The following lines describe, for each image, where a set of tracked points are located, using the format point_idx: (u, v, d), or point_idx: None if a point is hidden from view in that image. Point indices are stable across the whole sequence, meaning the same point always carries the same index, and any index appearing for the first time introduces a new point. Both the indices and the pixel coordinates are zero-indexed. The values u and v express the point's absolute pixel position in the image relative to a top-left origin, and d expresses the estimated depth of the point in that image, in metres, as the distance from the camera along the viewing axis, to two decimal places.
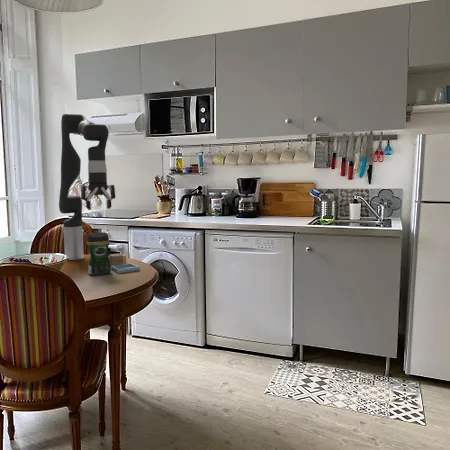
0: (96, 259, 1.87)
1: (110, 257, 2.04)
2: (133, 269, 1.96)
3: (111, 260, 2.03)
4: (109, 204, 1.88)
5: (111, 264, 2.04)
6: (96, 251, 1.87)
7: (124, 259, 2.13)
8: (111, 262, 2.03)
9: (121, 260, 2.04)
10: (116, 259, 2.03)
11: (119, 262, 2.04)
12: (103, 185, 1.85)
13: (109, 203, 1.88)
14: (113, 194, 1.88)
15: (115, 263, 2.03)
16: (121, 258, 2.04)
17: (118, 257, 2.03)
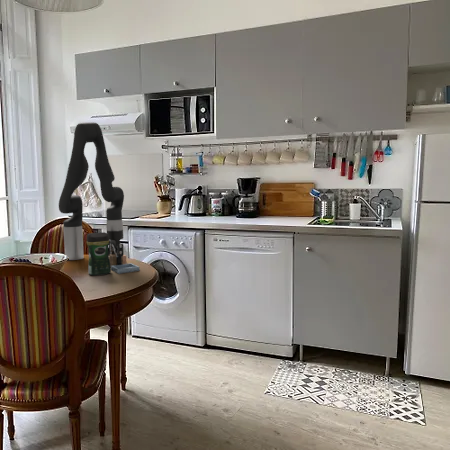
0: (96, 260, 1.87)
1: (110, 257, 2.04)
2: (133, 269, 1.96)
3: (111, 260, 2.03)
4: None
5: (111, 264, 2.04)
6: (96, 251, 1.87)
7: (124, 259, 2.13)
8: (111, 262, 2.03)
9: None
10: None
11: None
12: None
13: None
14: None
15: (115, 263, 2.03)
16: (121, 258, 2.04)
17: None
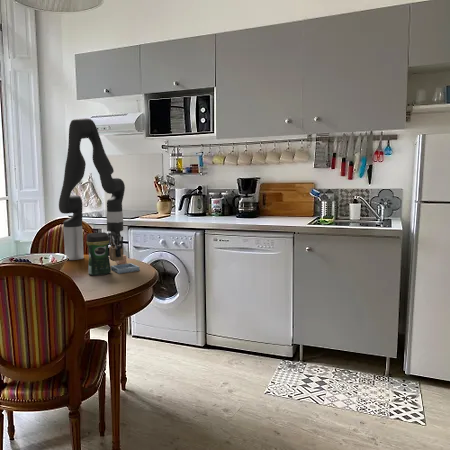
0: (96, 259, 1.87)
1: (110, 249, 2.04)
2: (133, 269, 1.96)
3: (111, 252, 2.03)
4: None
5: (111, 256, 2.04)
6: (96, 251, 1.87)
7: (124, 259, 2.13)
8: (112, 254, 2.03)
9: (121, 253, 2.04)
10: None
11: None
12: None
13: None
14: None
15: (115, 255, 2.03)
16: (121, 251, 2.04)
17: None
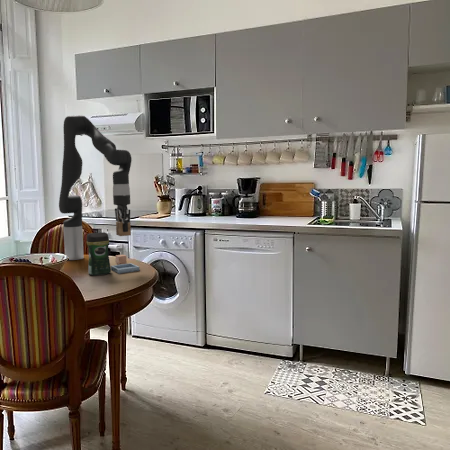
0: (96, 259, 1.87)
1: (117, 224, 1.95)
2: (133, 269, 1.96)
3: (118, 227, 1.94)
4: None
5: (118, 231, 1.95)
6: (96, 251, 1.87)
7: (124, 259, 2.13)
8: (119, 229, 1.94)
9: (129, 227, 1.95)
10: None
11: None
12: None
13: None
14: None
15: (122, 230, 1.94)
16: (129, 225, 1.95)
17: None
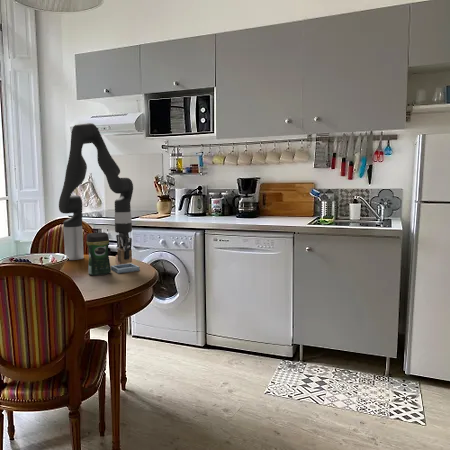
0: (96, 259, 1.87)
1: (119, 251, 1.97)
2: (133, 269, 1.96)
3: (120, 254, 1.96)
4: None
5: (119, 259, 1.96)
6: (96, 251, 1.87)
7: None
8: (120, 256, 1.95)
9: (130, 255, 1.97)
10: None
11: None
12: None
13: None
14: None
15: None
16: (130, 253, 1.97)
17: None
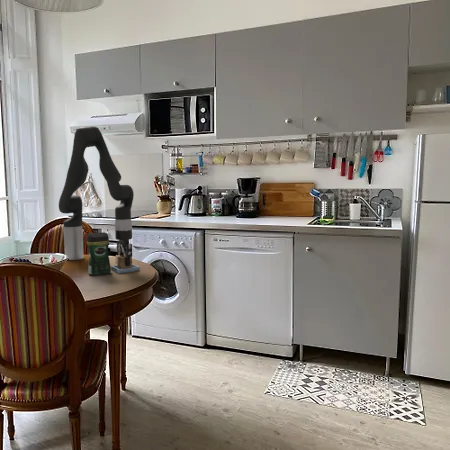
0: (96, 260, 1.87)
1: (119, 259, 1.97)
2: (133, 269, 1.96)
3: (120, 262, 1.96)
4: None
5: (120, 266, 1.97)
6: (96, 251, 1.87)
7: None
8: (120, 263, 1.96)
9: (130, 262, 1.97)
10: None
11: None
12: None
13: None
14: None
15: (124, 265, 1.96)
16: (130, 260, 1.97)
17: None
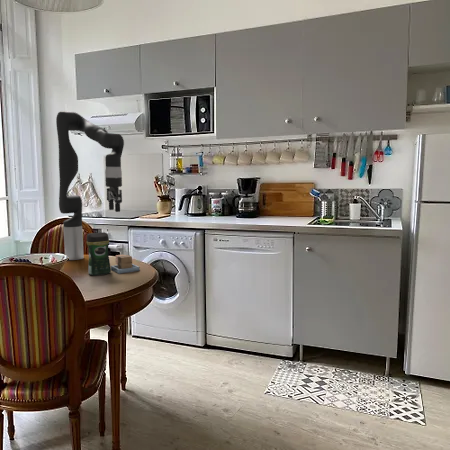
0: (96, 259, 1.87)
1: (119, 259, 1.97)
2: (133, 269, 1.96)
3: (120, 262, 1.96)
4: (113, 205, 2.09)
5: (120, 266, 1.97)
6: (96, 251, 1.87)
7: None
8: (120, 263, 1.96)
9: (130, 262, 1.97)
10: (125, 261, 1.96)
11: (128, 263, 1.97)
12: None
13: (113, 204, 2.09)
14: None
15: (124, 265, 1.96)
16: (130, 260, 1.97)
17: (127, 259, 1.96)
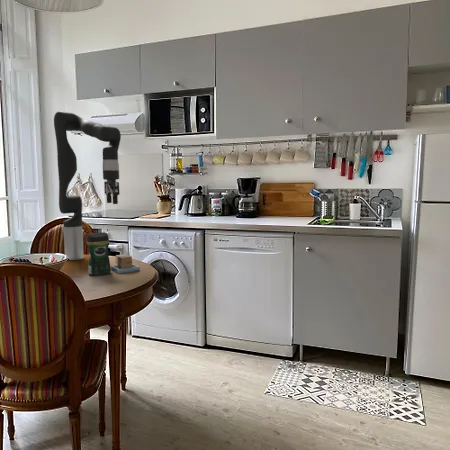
0: (96, 259, 1.87)
1: (119, 259, 1.97)
2: (133, 269, 1.96)
3: (120, 262, 1.96)
4: None
5: (120, 266, 1.97)
6: (96, 251, 1.87)
7: None
8: (120, 263, 1.96)
9: (130, 262, 1.97)
10: (125, 261, 1.96)
11: (128, 263, 1.97)
12: None
13: None
14: None
15: (124, 265, 1.96)
16: (130, 260, 1.97)
17: (127, 259, 1.96)
